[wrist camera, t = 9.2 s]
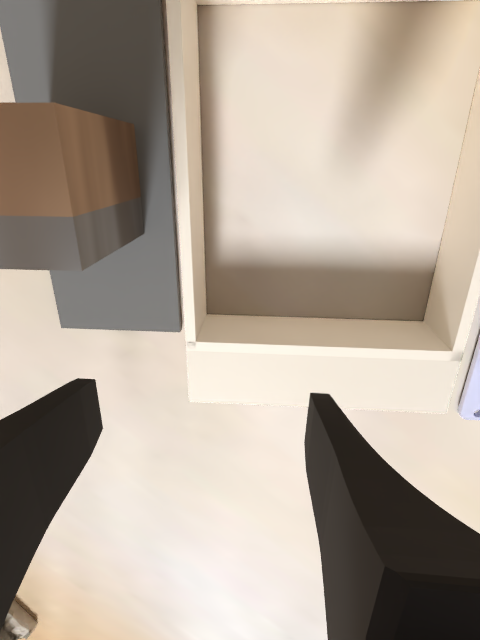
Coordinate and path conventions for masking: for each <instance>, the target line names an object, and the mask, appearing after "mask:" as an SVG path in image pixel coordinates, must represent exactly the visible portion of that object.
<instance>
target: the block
mask: <svg viewBox="0 0 480 640" xmlns="http://www.w3.org/2000/svg"><path fill="white" fill-rule="evenodd" d="M143 234H144V224H143V214H142V203H141V192H140V182H139V171H138V160H137V150H136V139H135V128H134V124H131V123H128V122H124V121H120V120H117V119H113V118H109V117H106V116H102V115H98V114H94V113H91V112H87V111H83V110H80V109H76V108H72V107H69V106H65V105H61V104H57V103H0V269H25V270H62V271H83V270H85V269H86V268H88V267H90V266H91V265H93V264H95V263H96V262H98V261H100V260H101V259H103V258H105V257H106V256H108V255H110V254H111V253H113V252H115V251H116V250H118V249H120V248H121V247H123V246H125V245H126V244H128V243H130V242H131V241H133V240H135V239H136V238H138V237H140V236H141V235H143Z"/></svg>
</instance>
